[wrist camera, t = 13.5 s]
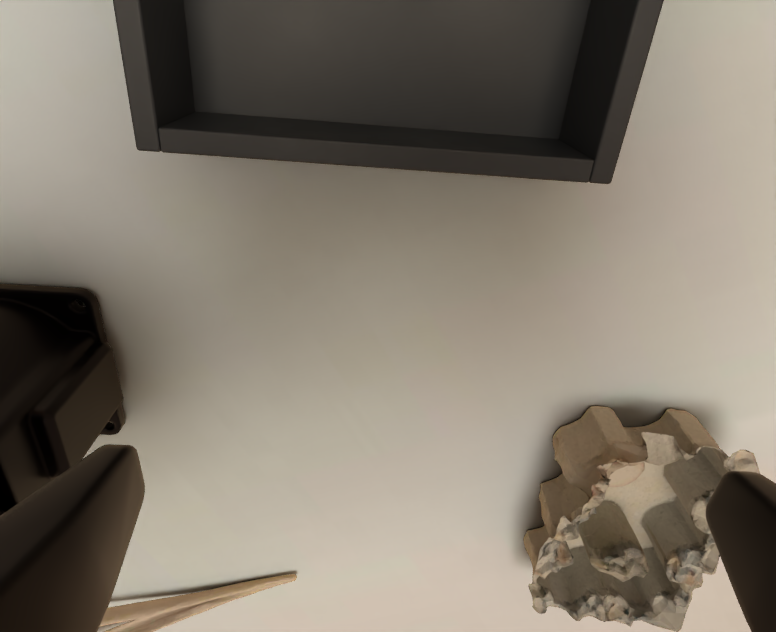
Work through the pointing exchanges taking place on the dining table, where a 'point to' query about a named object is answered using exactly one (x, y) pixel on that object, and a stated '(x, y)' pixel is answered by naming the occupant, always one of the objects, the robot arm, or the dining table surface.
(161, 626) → the animal skull
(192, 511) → the dining table surface
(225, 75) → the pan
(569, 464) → the egg carton
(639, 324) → the dining table surface
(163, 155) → the dining table surface
